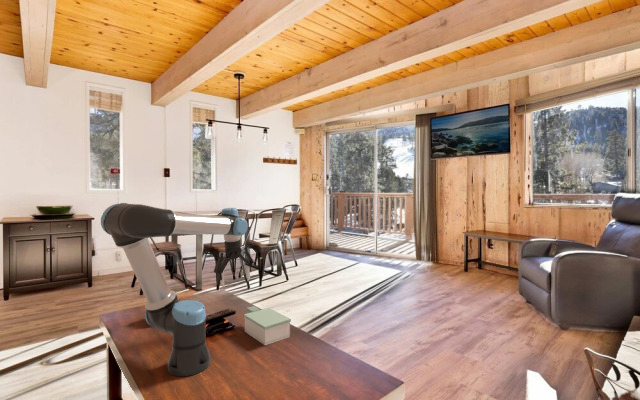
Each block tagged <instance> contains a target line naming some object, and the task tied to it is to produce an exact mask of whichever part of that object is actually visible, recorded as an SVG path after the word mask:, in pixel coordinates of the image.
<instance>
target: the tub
mask: <svg viewBox="0 0 640 400" xmlns="http://www.w3.org/2000/svg"><path fill="white" fill-rule="evenodd" d="M244 332H245V333H246V334H247V335H249V336H250V337H252V338H253V339H255V340H256V341H258V342H259V343H261V344H262V345H264V346H267V345H270V344H273V343H276V342H279V341H282V340H285V339H287V338H290V336H291V322H288V323H285V324H282V325H279V326H276V327H272V328H269V329H266V330H264V329H263V328H261V327H260V326H258V325H256V324H255V323H253V322H251V321H250V320H248V319H246V318H245V317H244Z"/></svg>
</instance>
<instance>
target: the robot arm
mask: <svg viewBox="0 0 640 400" xmlns="http://www.w3.org/2000/svg"><path fill="white" fill-rule="evenodd" d="M248 225H249V224H248V221H247V220H246V218H242V217H239V210H238V209H237V208H236V207H226V208H222V210H221V214H217V215H208V214H207V215H206V214H192V213H179V212H178V213H177V212H174V211H173V210H171V209H167V208H159V207H154V206H151V205H146V204H142V203H141V204H140V203H139V204H137V203H126V202H121V203H115V204H111V205H110V206H108V207H107V208H105V210H104V211H103V213H102V215H101V217H100V226H101V228H102V230H103V231H104V232H105V233H106V234H107V235H109V236H111V238H112V240H113V241H114V243H115V246H116V247H117V248H122V250H123V252H124V254H125V256H126V258H127V260H128V262H129V264H130V267H131V269H132V270H133V273H134V275H135V278H136V279H137V281H138V284H139V287H140V289H141V291H142V292H143V295H144V298H145V300H146V302H145V303H144V308H145V311H144V318H145V321H146V323H147V324H148V325H149V326H150V327H151V328H153V329H156V330H157V331H158V330H159V331H162V332H164V333H167V334H168V335H171V336H172V349H171V352H170V355H169V358H168V360H167V372H168V373H169V374H170V375H172V376H175V377H189V376H193V375H197V374H200V373H202V372H203V371H205V370H206V369H208V368H209V366H210V365H211V354H210V350H209V349H208V346H207V343H206V338H207V337H206V335H207V334H206V328H207V327H206V326H207V324H206V323H207V321H206V320H207V319H206V318H207V313H206V307H205V305H204V304H203V303H202V302H200V301H198V300H191V299H186V300H180V302H179V300H178V299H179V297H178V295H177V293H176V292H175V290H173V289H172V290H171V289H170V287H169V286H168V283H167V281H166V278H165V275H164V273H163V271H162V269H161V266H160V264H159V262H158V260H157V257H156V254H155V252H154V249H153V247H152V245H151V243H150V240H149V239H150V238H159V237H161V238H162V237H163V238H166V237H167V238H168V237H171V236H172V235H220V236H221V235H223V239H224V251H223V252H221V251H220V252H218V257H217V260H216V264H215V266H214V270H213V273H214V274H216V275H218V276H217V279H218V280H219V281H220V286H221V287H223V288H225V286H226V285H225V284H226V283H225V274H224V270H225V268H226V267H227V265H228V264H229V262H230V261H231V260H235V259H240V260H241V261H242V262H244V263H245V264H246V265H245V276H246V279H248V280H251V272H252V266H253V265H254V264H255V261H254V259H253V257H252V256H251V254H250V253H249V250H248V247H247V246H242V245H241V243H242V241H241V236H244V235H245V234H246V233H247V231H248V227H249V226H248ZM242 252H243V253H244V255H245V256H246V258H247V259H246V258H245V257H244V256H243V255H242V254H241V253H242Z"/></svg>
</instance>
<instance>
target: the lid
mask: <svg viewBox="0 0 640 400" xmlns="http://www.w3.org/2000/svg"><path fill="white" fill-rule="evenodd" d="M246 312H247V313H245V314H243V318H244V319H245V318H246V319H248V320H250V321H251V322H253V323H255V324H256V325H258V326H260V327H261V328H263V329H264V330H266V329H269V328H272V327H276V326H279V325H282V324H285V323H288V322H290V323H291V322H292V320H291V318H290V317H287V316H286V315H284V314H282V313H280V312H278V311H276V310H274V309H272V308H270V307H266V308H263V309H262V308H261V309H260V308H259V307H257V306H255V305H253V306H248V307H246Z"/></svg>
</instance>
